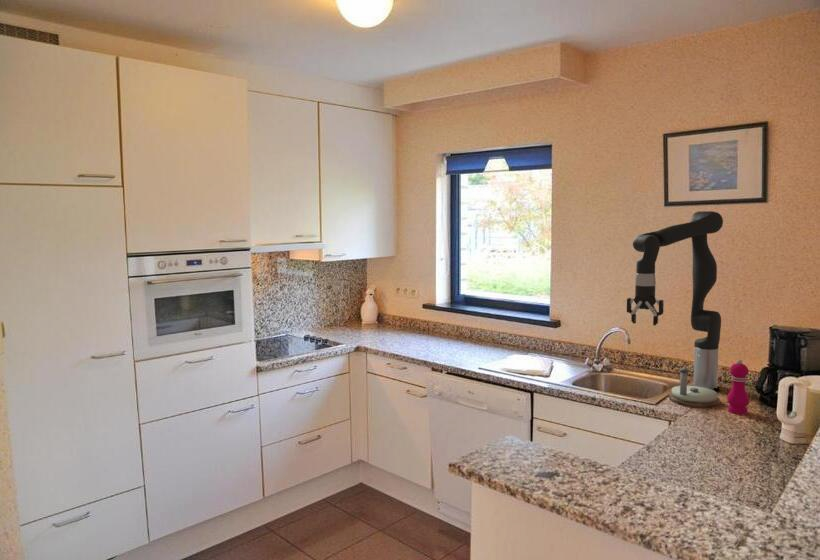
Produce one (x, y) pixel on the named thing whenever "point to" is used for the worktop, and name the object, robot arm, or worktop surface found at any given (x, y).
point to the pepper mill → (738, 389)
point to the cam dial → (692, 391)
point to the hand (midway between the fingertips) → (644, 324)
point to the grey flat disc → (694, 403)
